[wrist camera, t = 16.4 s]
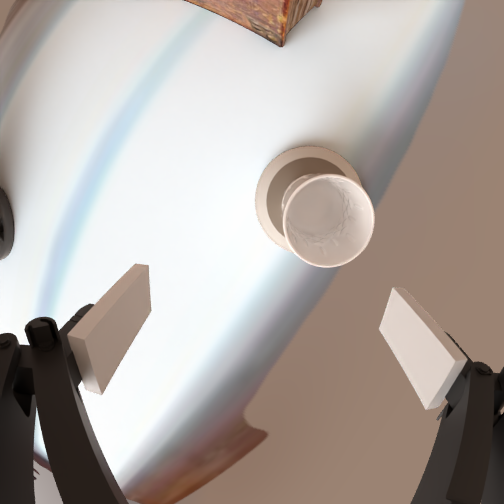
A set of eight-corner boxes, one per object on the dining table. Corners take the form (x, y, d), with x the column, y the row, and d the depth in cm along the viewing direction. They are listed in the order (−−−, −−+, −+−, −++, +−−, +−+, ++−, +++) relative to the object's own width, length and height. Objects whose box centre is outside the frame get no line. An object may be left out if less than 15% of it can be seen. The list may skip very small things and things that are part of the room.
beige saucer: (233, 187, 33) (232, 188, 32) (322, 126, 30) (325, 125, 29) (294, 270, 36) (295, 275, 35) (376, 214, 33) (381, 217, 32)
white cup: (315, 248, 34) (334, 284, 24) (263, 209, 32) (263, 231, 23) (356, 197, 31) (391, 214, 22) (304, 155, 30) (323, 154, 21)
